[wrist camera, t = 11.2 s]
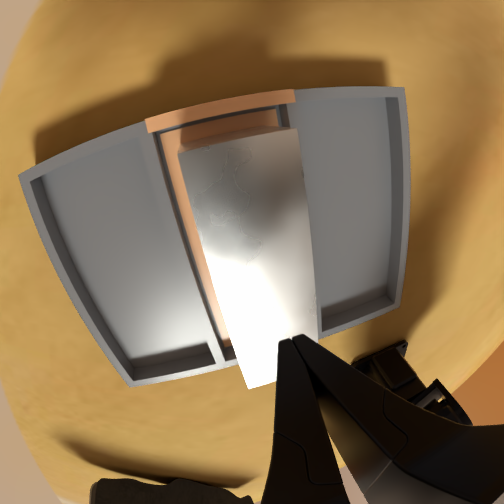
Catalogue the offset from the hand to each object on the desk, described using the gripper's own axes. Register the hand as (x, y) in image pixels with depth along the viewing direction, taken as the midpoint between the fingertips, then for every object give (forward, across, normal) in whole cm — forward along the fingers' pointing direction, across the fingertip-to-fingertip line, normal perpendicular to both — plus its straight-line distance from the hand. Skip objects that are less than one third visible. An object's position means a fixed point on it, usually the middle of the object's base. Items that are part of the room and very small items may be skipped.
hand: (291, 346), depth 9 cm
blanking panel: (+8, 0, 0) cm, 8 cm away
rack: (+9, 0, 0) cm, 9 cm away
